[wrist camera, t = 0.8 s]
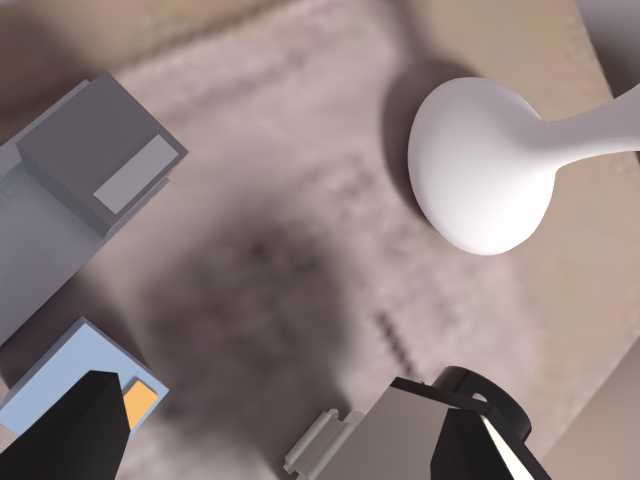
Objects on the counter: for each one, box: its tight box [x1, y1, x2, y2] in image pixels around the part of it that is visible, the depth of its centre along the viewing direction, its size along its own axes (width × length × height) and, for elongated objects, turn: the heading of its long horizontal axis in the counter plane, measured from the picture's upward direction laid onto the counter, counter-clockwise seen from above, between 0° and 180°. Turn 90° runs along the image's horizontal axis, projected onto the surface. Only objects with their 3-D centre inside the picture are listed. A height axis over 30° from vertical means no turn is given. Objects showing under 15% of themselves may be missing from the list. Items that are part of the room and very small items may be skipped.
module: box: [0, 316, 169, 439], centre depth 20 cm, size 4×4×5 cm
